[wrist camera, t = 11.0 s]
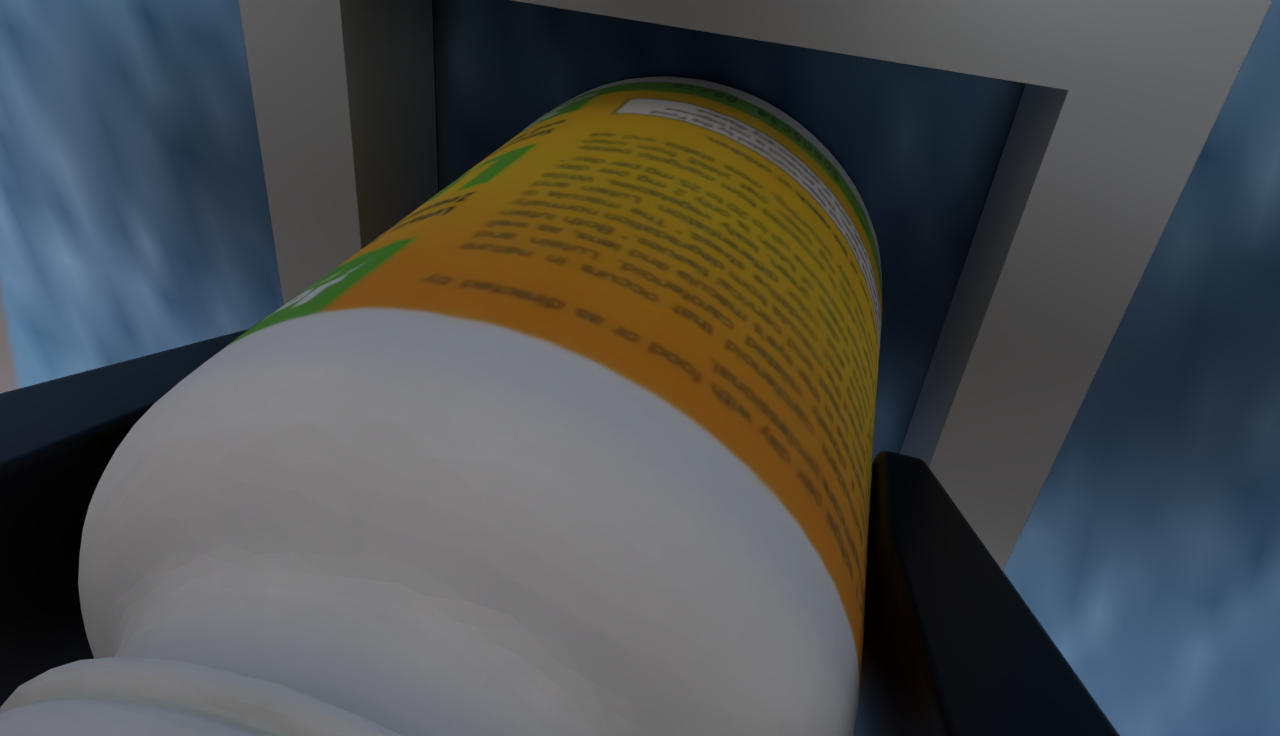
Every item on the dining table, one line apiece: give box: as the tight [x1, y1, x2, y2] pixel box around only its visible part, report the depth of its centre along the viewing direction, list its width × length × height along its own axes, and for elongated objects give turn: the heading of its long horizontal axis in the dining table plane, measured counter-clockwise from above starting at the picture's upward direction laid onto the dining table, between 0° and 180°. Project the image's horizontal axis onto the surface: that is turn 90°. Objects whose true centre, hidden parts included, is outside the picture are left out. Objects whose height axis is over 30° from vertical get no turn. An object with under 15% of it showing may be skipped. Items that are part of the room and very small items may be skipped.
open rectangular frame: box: [238, 0, 1272, 571], centre depth 11 cm, size 9×9×2 cm
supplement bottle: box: [0, 76, 882, 736], centre depth 7 cm, size 5×5×10 cm
